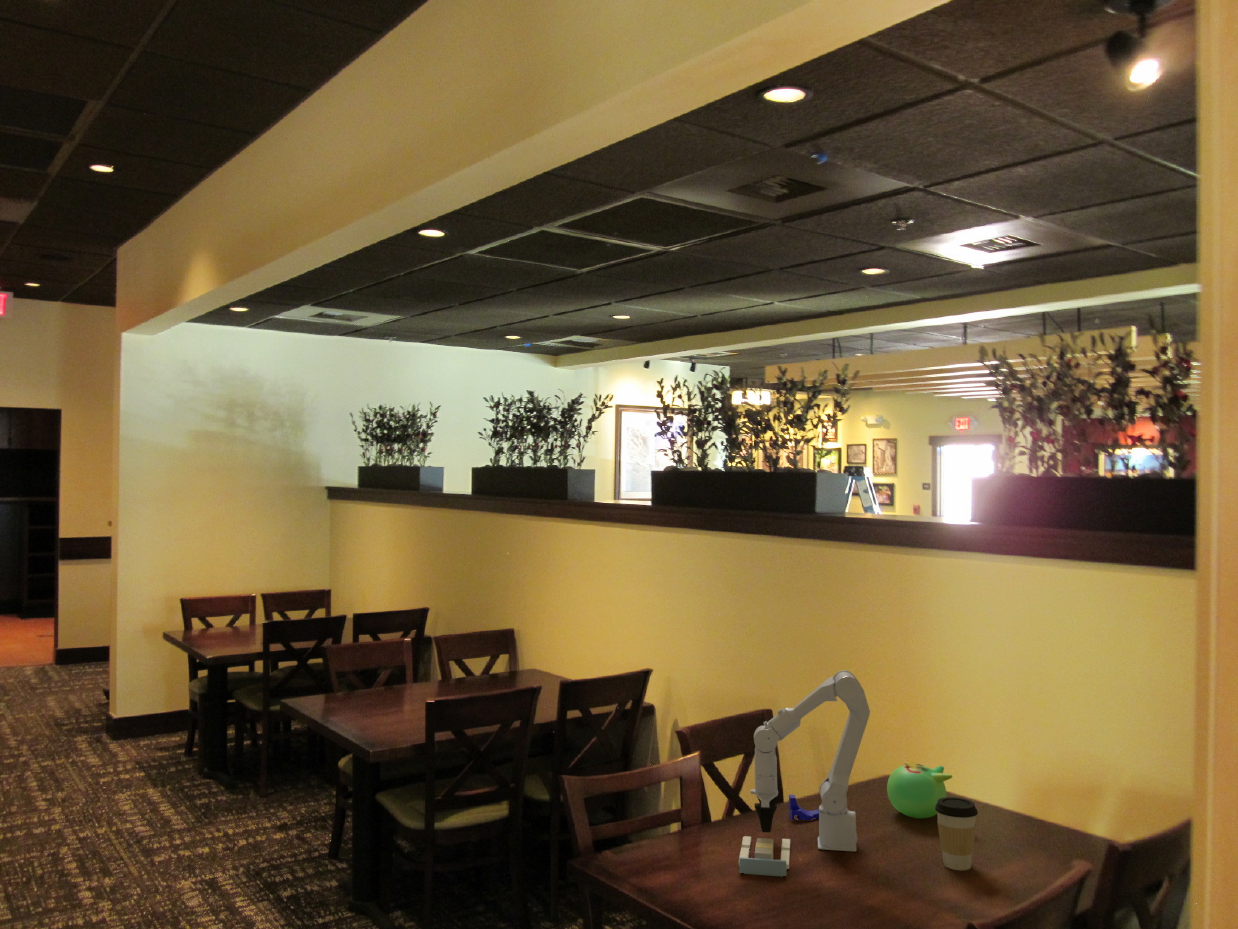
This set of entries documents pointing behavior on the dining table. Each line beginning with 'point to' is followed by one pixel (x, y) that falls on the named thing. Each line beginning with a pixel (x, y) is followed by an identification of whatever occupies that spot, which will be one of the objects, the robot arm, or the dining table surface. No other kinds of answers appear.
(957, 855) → the coffee cup
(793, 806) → the navy blue l-shaped piece
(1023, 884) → the dining table surface
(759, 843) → the banded cream box
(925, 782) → the toy bird
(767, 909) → the dining table surface
